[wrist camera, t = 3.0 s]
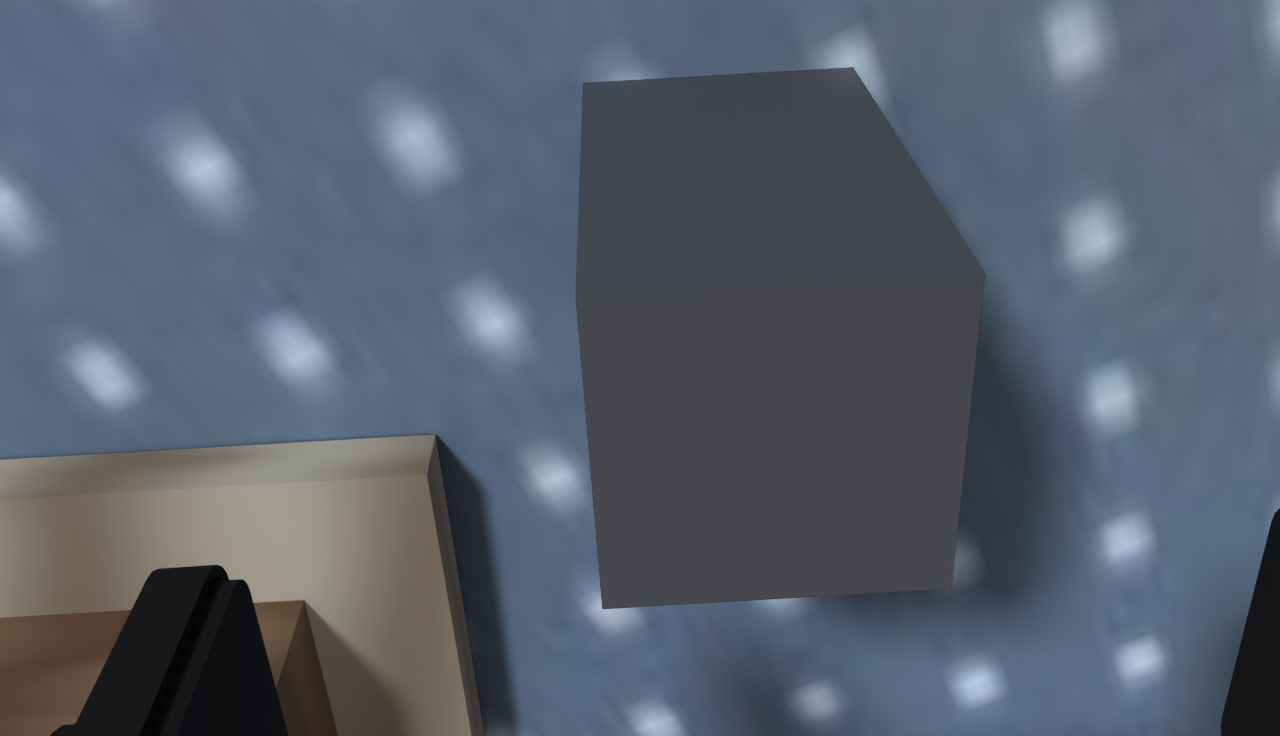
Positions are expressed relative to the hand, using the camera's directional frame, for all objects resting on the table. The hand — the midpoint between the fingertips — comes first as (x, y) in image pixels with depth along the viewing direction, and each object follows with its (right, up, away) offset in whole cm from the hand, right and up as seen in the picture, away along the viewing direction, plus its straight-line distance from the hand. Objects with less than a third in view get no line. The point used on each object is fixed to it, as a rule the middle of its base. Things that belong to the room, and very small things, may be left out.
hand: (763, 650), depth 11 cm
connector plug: (0, +5, +8) cm, 9 cm away
